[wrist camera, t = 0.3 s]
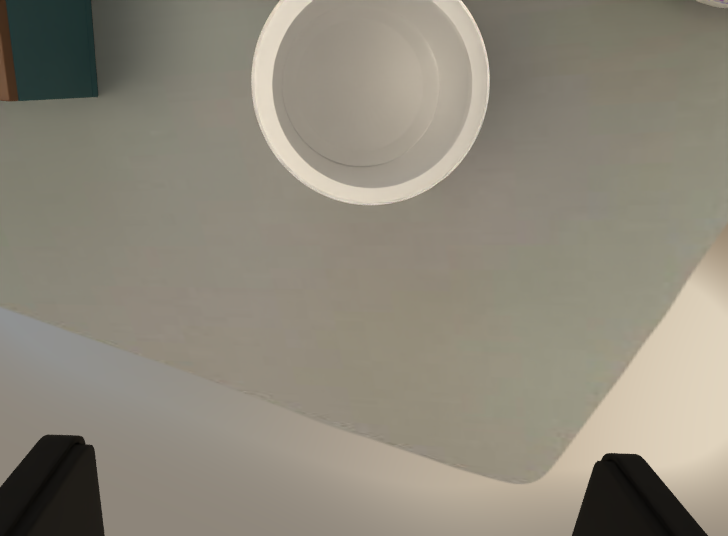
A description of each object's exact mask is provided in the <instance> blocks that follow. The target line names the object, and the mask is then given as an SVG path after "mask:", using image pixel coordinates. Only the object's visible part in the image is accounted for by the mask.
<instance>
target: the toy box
mask: <svg viewBox="0 0 728 536" xmlns="http://www.w3.org/2000/svg"><path fill="white" fill-rule="evenodd" d="M5 1H6V9H7V16H8V24H9V32H10V39H11V47H12V55H13V62H14V70H15V78H16V85H17V93H18V101H27V100H46V99H66V98H85V97H98V87H97V74H96V61H95V49H94V36H93V23H92V10H91V0H5Z"/></svg>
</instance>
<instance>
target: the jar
mask: <svg viewBox="0 0 728 536" xmlns="http://www.w3.org/2000/svg"><path fill="white" fill-rule="evenodd" d="M251 85H252V98H253V104H254V109H255V113H256V117H257V120H258V123H259V126H260V129H261V131H262V133H263V136H264V138H265V140H266V142H267V143H268V145H269V147H270V148H271V150H272V152H273V153H274V154H275V156H276V157H277V159H278V160H279V161H280V162H281V164H282V165H283V166H284V167H285V168H286V169H287V170H288V171H289V172H290V173H291V174H292V175H293V176H294V177H296V178H297V179H298V180H299V181H301V182H302V183H303V184H305V185H306V186H308V187H309V188H311V189H313V190H314V191H316V192H318V193H320V194H322V195H325V196H327V197H329V198H332V199H335V200H338V201H342V202H346V203H351V204H359V205H382V204H390V203H395V202H399V201H403V200H406V199H409V198H412V197H414V196H416V195H419V194H421V193H423V192H425V191H427V190H428V189H430V188H432V187H433V186H435V185H436V184H438V183H439V182H440V181H442V180H443V179H444V178H445V177H447V176H448V175H449V174H450V173H451V172H452V171H453V170H454V169H455V168H456V167H457V166H458V165H459V163H460V162H461V161H462V160H463V159H464V157H465V156H466V154H467V153H468V152H469V150H470V148H471V147H472V145H473V143H474V142H475V140H476V138H477V136H478V133H479V131H480V129H481V126H482V123H483V120H484V117H485V114H486V109H487V105H488V98H489V88H490V74H489V63H488V57H487V52H486V48H485V45H484V41H483V38H482V36H481V33H480V31H479V28H478V26H477V24H476V22H475V20H474V19H473V17H472V15H471V13H470V12H469V10H468V9H467V7H466V6H465V5H464V3H463V2H462V1H461V0H280V1H279V2H278V4H277V5H276V6H275V8H274V9H273V11H272V12H271V14H270V16H269V17H268V19H267V21H266V23H265V25H264V27H263V29H262V31H261V34H260V36H259V39H258V42H257V45H256V49H255V53H254V58H253V65H252V78H251Z"/></svg>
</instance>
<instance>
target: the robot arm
mask: <svg viewBox="0 0 728 536" xmlns="http://www.w3.org/2000/svg"><path fill="white" fill-rule="evenodd" d="M0 536H104V527H103V518H102V510H101V502H100V494H99V485H98V477H97V467H96V459H95V451H94V447H93V446H92V445H86V444H85V441H84V439H83V437H82V436H73V435H45V436H43V437H42V438H41V439H40V440H39V441H38V442H37V443H36V445H35V446H34V447H33V448H32V450H31V451H30V452H29V453H28V454H27V456H26V457H25V458H24V459H23V460H22V462H21V463H20V464H19V465H18V466H17V468H16V469H15V470H14V471H13V473H12V474H11V475H10V476H9V477H8V479H7V480H6V481H5V482H4V483H3V485H2V486H1V487H0ZM572 536H708V535H707V534H706V533H705V532H704V531H703V529H702V528H701V527H700V526H699V525H698V523H697V522H696V521H695V520H694V519H693V517H692V516H691V515H690V514H689V513H688V511H687V510H686V509H685V508H684V507H683V505H682V504H681V503H680V502H679V501H678V499H677V498H676V497H675V496H674V495H673V493H672V492H671V491H670V490H669V489H668V487H667V486H666V485H665V484H664V483H663V481H662V480H661V479H660V478H659V477H658V475H657V474H656V473H655V472H654V471H653V469H652V468H651V467H650V466H649V465H648V463H647V462H646V461H645V460H644V459H643V458H642V457H641V456H639V455H637V454H617V453H609V454H605V455H604V456H603V458H602V460H601V461H597V462H596V463H595V465H594V467H593V471H592V474H591V477H590V480H589V483H588V487H587V490H586V493H585V496H584V499H583V502H582V505H581V509H580V512H579V515H578V518H577V521H576V525H575V528H574V531H573V534H572Z"/></svg>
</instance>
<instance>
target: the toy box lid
mask: <svg viewBox="0 0 728 536" xmlns="http://www.w3.org/2000/svg"><path fill="white" fill-rule="evenodd" d="M0 100H1V101H18V93H17V85H16V78H15V70H14V62H13V55H12V47H11V39H10V32H9V24H8V16H7V9H6V1H5V0H0Z"/></svg>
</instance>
